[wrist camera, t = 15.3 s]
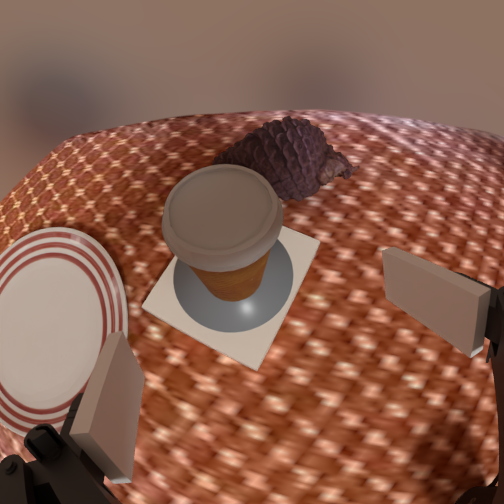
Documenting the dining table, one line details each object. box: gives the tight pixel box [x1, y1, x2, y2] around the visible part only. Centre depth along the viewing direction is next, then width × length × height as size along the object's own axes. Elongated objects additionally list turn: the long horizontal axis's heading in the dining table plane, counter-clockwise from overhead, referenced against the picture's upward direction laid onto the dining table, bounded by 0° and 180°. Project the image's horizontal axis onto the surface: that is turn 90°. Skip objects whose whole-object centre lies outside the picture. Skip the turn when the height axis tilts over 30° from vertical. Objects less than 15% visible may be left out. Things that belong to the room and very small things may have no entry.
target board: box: [141, 226, 320, 371], centre depth 34 cm, size 16×14×1 cm
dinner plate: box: [0, 227, 128, 437], centre depth 30 cm, size 28×27×3 cm
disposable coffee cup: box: [162, 164, 283, 302], centre depth 28 cm, size 10×10×12 cm
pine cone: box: [212, 116, 359, 201], centre depth 36 cm, size 18×10×10 cm, turn 91°
